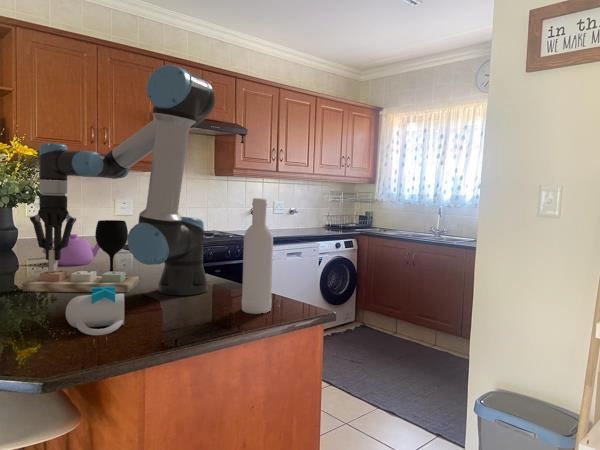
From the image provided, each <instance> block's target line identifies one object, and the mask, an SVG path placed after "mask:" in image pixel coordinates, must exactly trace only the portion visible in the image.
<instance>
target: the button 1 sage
mask: <svg viewBox="0 0 600 450" xmlns="http://www.w3.org/2000/svg"><path fill="white" fill-rule="evenodd" d="M126 274H127V273H126V271H114V272H110V271H106V272H104V273H102V274H101V275H102V282H123V281H124V280H126V276H127V275H126Z"/></svg>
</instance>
